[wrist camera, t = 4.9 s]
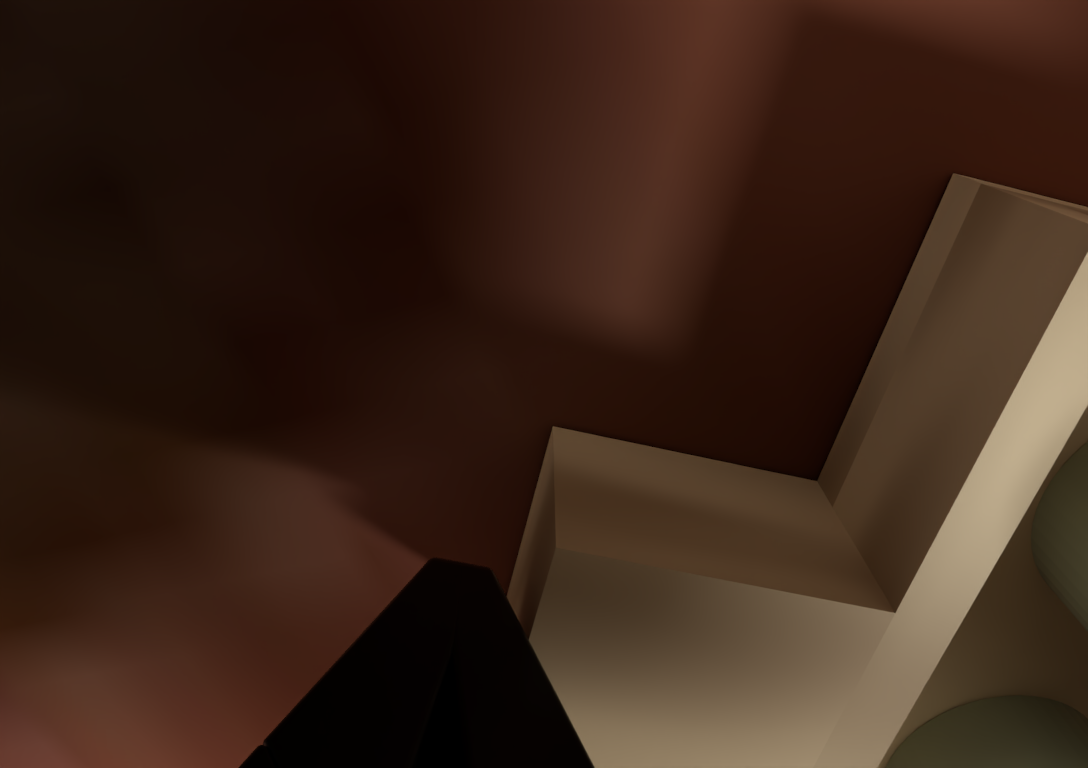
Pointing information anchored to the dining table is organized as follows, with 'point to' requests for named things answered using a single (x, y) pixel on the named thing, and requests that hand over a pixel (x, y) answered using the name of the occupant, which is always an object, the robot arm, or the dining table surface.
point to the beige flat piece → (836, 533)
